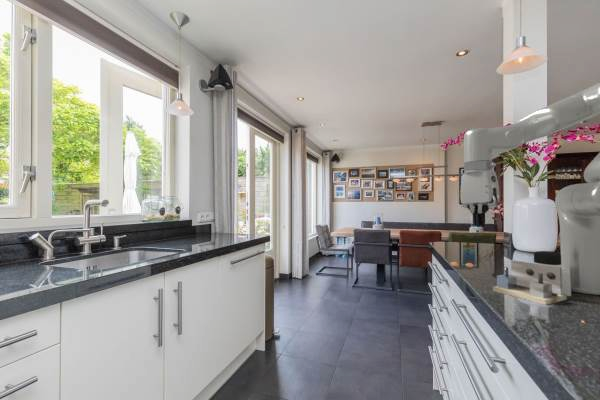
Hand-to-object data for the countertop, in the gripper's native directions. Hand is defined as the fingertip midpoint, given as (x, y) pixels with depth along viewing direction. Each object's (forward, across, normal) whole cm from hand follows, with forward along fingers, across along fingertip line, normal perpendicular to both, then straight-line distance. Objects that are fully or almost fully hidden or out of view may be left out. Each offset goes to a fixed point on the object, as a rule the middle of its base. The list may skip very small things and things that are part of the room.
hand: (478, 225), depth 88 cm
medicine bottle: (+19, -12, -12) cm, 26 cm away
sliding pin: (+18, -7, -1) cm, 19 cm away
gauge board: (+19, -12, -3) cm, 22 cm away
